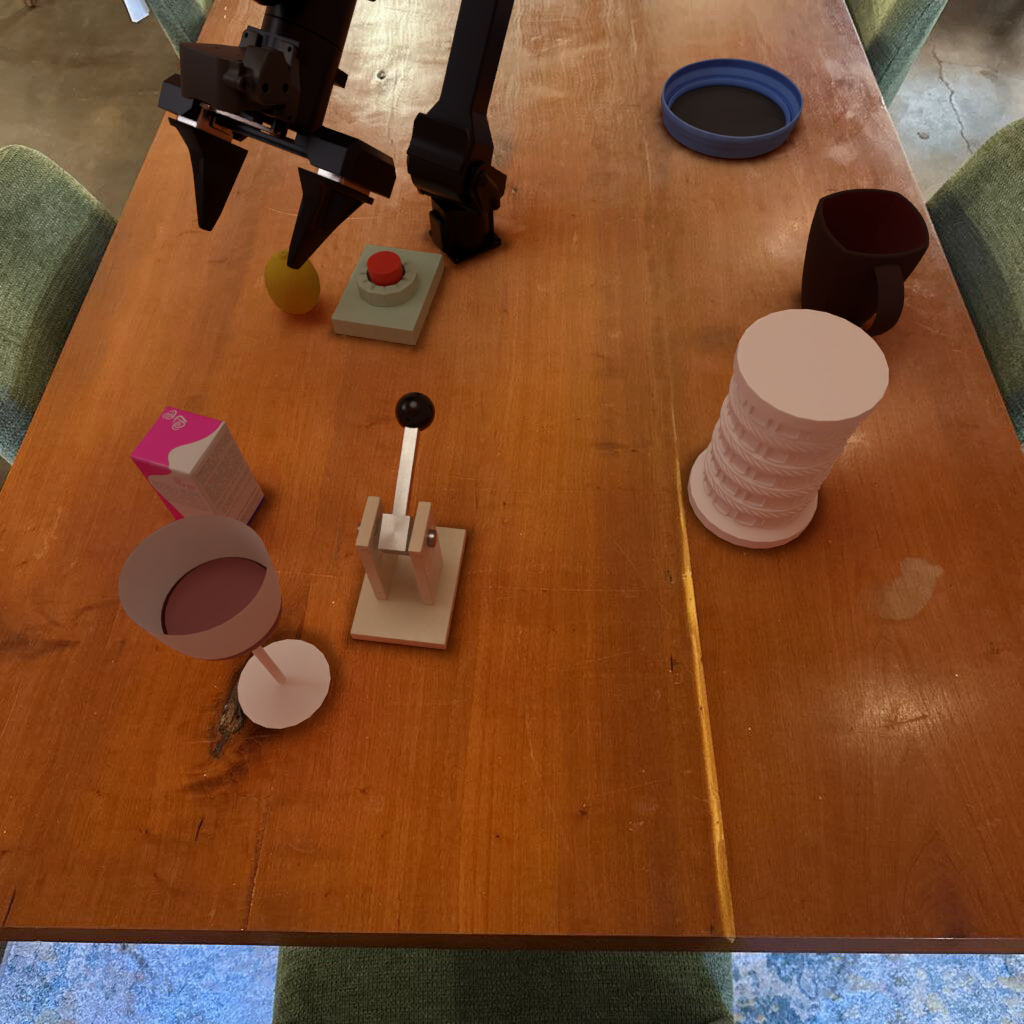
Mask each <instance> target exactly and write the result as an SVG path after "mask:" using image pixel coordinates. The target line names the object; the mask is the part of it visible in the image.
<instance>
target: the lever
mask: <svg viewBox="0 0 1024 1024" xmlns="http://www.w3.org/2000/svg"><path fill="white" fill-rule="evenodd" d="M394 416H395V419H396V422H397V423H398V425H399V426H400V427H401V428H402V429H404V430H403V436H402V443H401V450H400V457H399V462H398V463H399V464H398V470H397V477H396V484H395V491H394V498H393V504H392V511H391V513H387V512H385V513H383V514H382V521H381V528H380V534H379V541H378V548H377V549H379V550H380V551H382V552H383V553H386V554H395V555H404V556H409V552H408V548H409V544H410V539H411V535H412V530H413V526H414V522H415V518H413V517H412V515H409V514H410V508H411V507H410V506H411V499H412V494H413V493H412V492H413V485H414V479H415V472H416V466H417V465H416V464H417V459H418V451H419V446H420V445H419V444H420V437H421V432H423V431H425V430H427V429H428V428H430V427H431V425H432V424H433V422H434V421H435V418H436V407H435V404H434V402H433V401H432V399H431V398H430V397H429V396H428V395H427V394H425V393H424V392H420V391H409V392H407V393H405V394H403V395H402V396H400V398H398V400H397V402H396V404H395V407H394Z"/></svg>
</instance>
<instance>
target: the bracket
mask: <svg viewBox="0 0 1024 1024" xmlns="http://www.w3.org/2000/svg"><path fill="white" fill-rule="evenodd" d="M383 513H386V511H385V508H384V504H383V501H382V498H381V496H375V495H373V496H372V495H368V496H367V499H366V502H365V506H364V510H363V513H362V516H361V517H362V518H361V520H360V521H359V522H358V524H357V529H356V539H355V543H354V546H355V548H356V551H357V554H358V556H359V559H360V561H361V563H362V566H363V569H364V571H365V573H364V577H363V581H362V585H361V589H360V592H359V597H358V601H357V605H356V609H355V613H354V617H353V620H352V623H351V624H352V625H351V628H350V631H349V632H350V636H351V638H352V639H353V640H359V641H369V642H377V643H378V642H379V643H386V644H394V645H395V644H396V645H402V646H403V645H404V646H411V647H420V648H427V649H428V648H429V649H437V650H447V647H448V641H449V637H450V632H451V631H450V630H451V625H452V621H453V614H454V608H455V603H456V598H457V592H458V586H459V581H460V576H461V569H462V565H463V559H464V553H465V547H466V543H467V537H468V535H467V534H468V533H467V529H465V528H464V529H463V528H454V527H447V526H437V524H436V518H435V514H434V508H433V503H432V501H431V502H430V501H421V500H419V501H418V504H417V508H416V512H415V518H414V520H415V522H414V526H413V530H412V535H411V539H410V544H409V548H408V552H409V556H404V555H395V554H386V553H383V552H382V551H380V550H379V549H377V548H378V541H379V534H380V528H381V521H382V514H383Z"/></svg>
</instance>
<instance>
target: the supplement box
mask: <svg viewBox="0 0 1024 1024" xmlns="http://www.w3.org/2000/svg"><path fill="white" fill-rule="evenodd" d="M129 458H130V459H131V461H132V462H133V463H134V465H135V466H136V467H137V469H138V470H139V472H140V473H141V474H142V476H143V477H144V478H145V480H146V481H147V482H148V484H149V485H150V486H151V488H152V489H153V491H154V492H155V493H156V494H157V496H158V497H159V499H160V500H161V501H162V503H163V504H164V505H165V507H166V508H167V509H168V511H169V512H170V514H171V515H172V516H173V518H174V519H175V521H177V520H179V519H183V518H187V517H191V516H198V515H220V516H226V517H230V518H233V519H236V520H238V521H241V522H243V523H244V524H246V525H247V526H249V527H250V525H251V523H252V522H253V520H254V518H255V517H256V515H257V513H258V512H259V510H260V508H261V507H262V505H263V504H264V502H265V500H266V496H265V495H264V492H263V491H262V488H261V487H260V484H259V482H258V481H257V479H256V477H255V476H254V473H253V471H252V470H251V468H250V466H249V464H248V462H247V460H246V458H245V456H244V454H243V453H242V451H241V449H240V447H239V445H238V443H237V441H236V440H235V437H234V436H233V434H232V431H231V430H230V428H229V427H228V424H227V422H226V421H223V420H220V419H216V418H213V417H210V416H206V415H201V414H198V413H194V412H191V411H187V410H185V409H184V410H183V409H180V408H176V407H172V406H169V405H167V406H166V407H165V409H164V410H163V411H162V412H161V413H160V415H159V416H158V418H157V419H156V421H155V422H154V423H153V424H152V426H151V428H150V429H149V430H148V431H147V432H146V434H145V435H144V437H143V438H142V439H141V440H140V442H139V443H138V444H137V445H136V446H135V448H134V449H133V450H132V452H131V453H130V454H129Z"/></svg>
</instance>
